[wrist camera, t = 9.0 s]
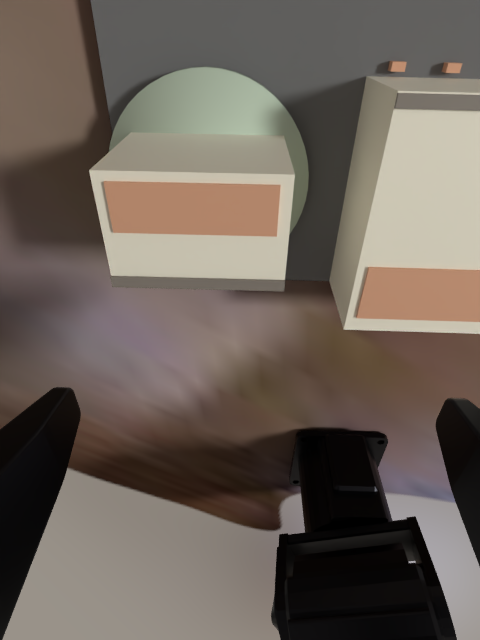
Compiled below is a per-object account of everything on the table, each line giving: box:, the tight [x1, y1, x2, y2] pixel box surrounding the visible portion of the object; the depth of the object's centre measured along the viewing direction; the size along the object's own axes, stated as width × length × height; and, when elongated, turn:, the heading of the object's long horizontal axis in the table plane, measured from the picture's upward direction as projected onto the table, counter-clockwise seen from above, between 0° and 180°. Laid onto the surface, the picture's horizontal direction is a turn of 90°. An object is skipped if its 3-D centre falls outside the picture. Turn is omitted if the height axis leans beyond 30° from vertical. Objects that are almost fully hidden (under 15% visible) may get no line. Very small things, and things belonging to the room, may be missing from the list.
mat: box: [91, 0, 480, 281], centre depth 15 cm, size 17×21×1 cm
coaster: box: [109, 66, 309, 235], centre depth 17 cm, size 8×8×1 cm
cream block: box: [89, 132, 295, 291], centre depth 15 cm, size 4×6×5 cm, turn 89°
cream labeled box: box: [329, 76, 480, 334], centre depth 16 cm, size 9×6×4 cm, turn 179°
